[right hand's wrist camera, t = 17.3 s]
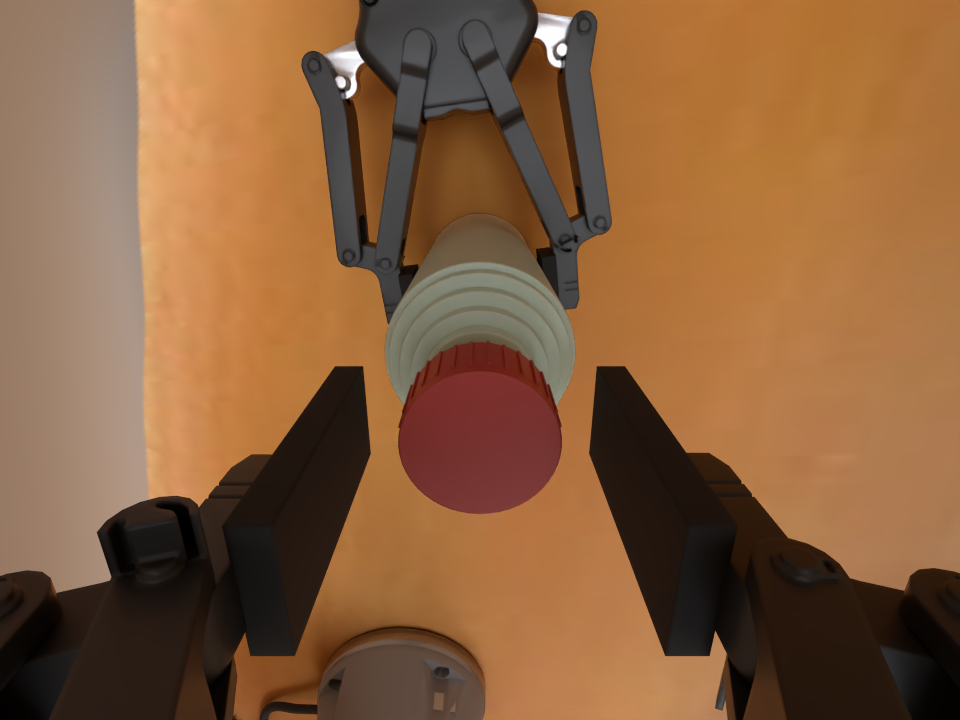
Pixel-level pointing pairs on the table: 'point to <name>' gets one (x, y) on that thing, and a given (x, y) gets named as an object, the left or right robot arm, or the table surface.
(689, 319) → the table surface
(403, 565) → the table surface
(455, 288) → the bottle
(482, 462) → the cap
